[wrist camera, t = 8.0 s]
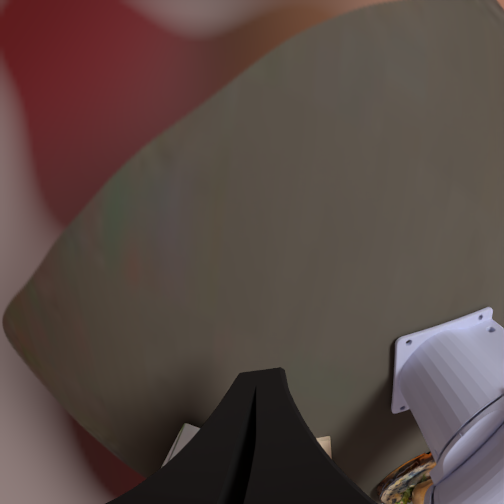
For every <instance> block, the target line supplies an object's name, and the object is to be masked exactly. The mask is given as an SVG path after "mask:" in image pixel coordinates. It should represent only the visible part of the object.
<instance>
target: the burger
mask: <svg viewBox="0 0 504 504" xmlns="http://www.w3.org/2000/svg"><path fill="white" fill-rule="evenodd" d="M436 465H437V464H436V462H435V460H434V458H433V455H432V453H430V454H429V455H428V454H425V453H424V454H422V455H420V456H417V457H416V458H414V459H412V460H410V461H408V462H407V463H405V464H403V465H402V466H400V467H399V468H397V469H396V470H394V471H393V472H391V473H390V474H389V475H388V476H387V477H385V478H384V479H383V481H382V482H381V483H380V484H379V486H378V487H377V491H378V490H379V491H378V496H380V497H379V498H380V502H381V503H382V504H407V503H408V502H409V503H410V502H411V501H412V502H413V504H423V503H424V497H425V493H426V491H427V490H428V488H429V487H430V486H431V485H432V484H433V481H432V479H431V476H430V474H429V472H430V471H431V470H432V469H433V468H434V467H435V466H436Z"/></svg>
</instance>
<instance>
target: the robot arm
mask: <svg viewBox="0 0 504 504" xmlns="http://www.w3.org/2000/svg"><path fill="white" fill-rule="evenodd" d="M492 313H493V310H492V309H491V308H490V307H487V308H484V309H482V310H479V311H476V312H474V313H471V314H469V315H466V316H463V317H460V318H458V319H455V320H452V321H449V322H446V323H443V324H440V325H437V326H434V327H431V328H428V329H425V330H422V331H419V332H415V333H412V334H409V335H405V336H402V337H399V338H398V339H397V340H396V342H395V361H394V379H393V393H392V403H391V411H392V413H394V414H396V413H399V412H403V411H406V410H409V409H410V410H411V412H412V414H413V416H414V418H415V420H416V422H417V424H418V426H419V428H420V430H421V432H422V434H423V436H424V438H425V441H426V443H427V445H428V447H429V449H430V451H431V453H432V455H433V458H434V460H435V462H436V464H437V465H436V466H435V467H434V468H433V469H432V470H431V471H430V472H429V474H430V476H431V479H432V481H433V484H432V485H431V486H430V487H429V488H428V490H427V491H426V493H425V497H424V503H423V504H504V328H503V327H501V326H500V325H499V324H498V323H496V322H495V321H494V320H493V319H492ZM479 316H480V317H479ZM408 340H410V341H409V342H408V343H406V342H407V341H408ZM402 406H403V407H402ZM106 504H377V503H376V502H375V501H373V500H372V499H371V498H370V497H369V496H367V495H366V494H365V493H364V492H363V491H362V490H361V489H360V488H359V487H358V486H357V485H356V484H355V483H354V482H353V481H352V480H351V479H350V478H349V477H347V476H346V475H345V474H344V472H343V471H342V470H341V469H340V468H339V467H338V466H337V465H336V463H335V462H334V461H333V460H332V459H331V458H330V456H329V455H328V454H327V453H326V451H325V450H324V449H323V448H322V446H321V445H320V444H319V442H318V441H317V439H316V438H315V437H314V435H313V434H312V432H311V431H310V429H309V427H308V426H307V424H306V423H305V421H304V419H303V418H302V416H301V414H300V412H299V410H298V408H297V406H296V404H295V402H294V400H293V398H292V396H291V394H290V391H289V388H288V384H287V379H286V374H285V370H284V369H282V368H281V367H279V368H273V369H266V370H258V371H251V372H243V373H240V374H239V375H238V376H237V378H236V379H235V381H234V382H233V384H232V385H231V387H230V389H229V390H228V392H227V393H226V395H225V396H224V398H223V399H222V401H221V402H220V403H219V405H218V406H217V408H216V409H215V410H214V412H213V413H212V414H211V416H210V417H209V418H208V420H207V421H206V422H205V424H204V425H203V426H202V427H201V428H200V429H199V431H198V432H197V433H196V434H195V435H194V436H193V438H192V439H191V440H190V441H189V442H188V443H187V444H186V445H185V446H184V447H183V448H182V449H181V450H180V451H179V452H178V453H177V454H176V455H175V456H174V457H173V458H172V459H171V460H170V461H169V462H168V463H166V464H165V465H164V466H163V467H162V468H160V469H159V470H158V471H157V472H155V473H154V474H153V475H151V476H150V477H149V478H147V479H146V480H145V481H143V482H142V483H140V484H139V485H138V486H136V487H134V488H133V489H131V490H130V491H128V492H126V493H125V494H123V495H121V496H119V497H118V498H116V499H114V500H112V501H110V502H108V503H106Z"/></svg>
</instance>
